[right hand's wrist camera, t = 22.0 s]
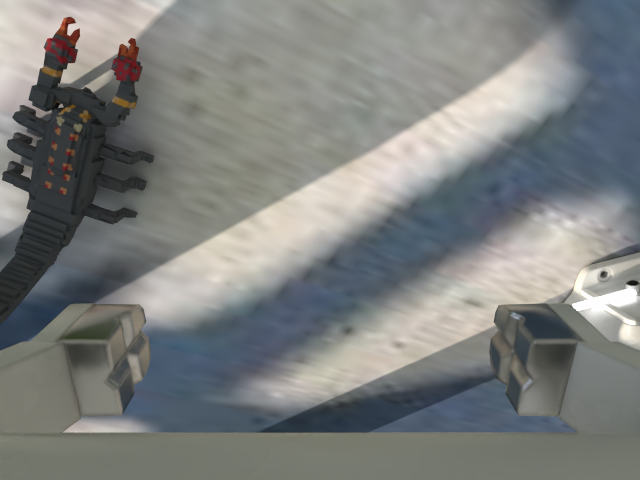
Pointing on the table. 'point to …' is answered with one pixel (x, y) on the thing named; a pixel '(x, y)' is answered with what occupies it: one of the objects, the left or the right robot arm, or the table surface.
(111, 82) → the table surface
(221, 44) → the table surface
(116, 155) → the toy
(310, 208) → the table surface
